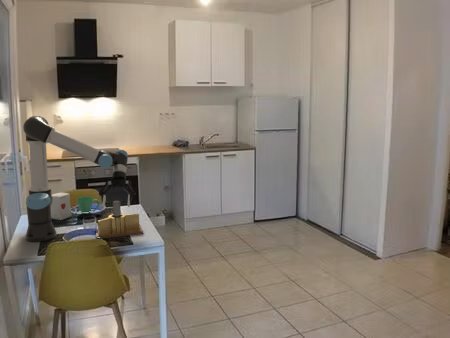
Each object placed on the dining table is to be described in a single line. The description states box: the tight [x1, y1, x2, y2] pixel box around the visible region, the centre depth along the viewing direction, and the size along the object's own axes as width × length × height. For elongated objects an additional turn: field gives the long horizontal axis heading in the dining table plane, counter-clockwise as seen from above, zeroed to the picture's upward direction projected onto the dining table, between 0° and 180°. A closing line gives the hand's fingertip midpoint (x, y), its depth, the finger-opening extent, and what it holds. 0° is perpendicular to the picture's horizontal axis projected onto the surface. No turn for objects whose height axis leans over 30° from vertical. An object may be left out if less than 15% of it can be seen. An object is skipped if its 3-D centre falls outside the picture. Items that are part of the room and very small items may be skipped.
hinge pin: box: [112, 200, 122, 217], centre depth 234 cm, size 4×4×16 cm
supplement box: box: [51, 192, 72, 221], centre depth 263 cm, size 9×9×15 cm
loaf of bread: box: [95, 213, 144, 239], centre depth 235 cm, size 25×15×10 cm, turn 109°
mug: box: [76, 196, 101, 213], centre depth 271 cm, size 15×10×10 cm
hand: (116, 206), depth 231 cm, fingers open, 13 cm apart
